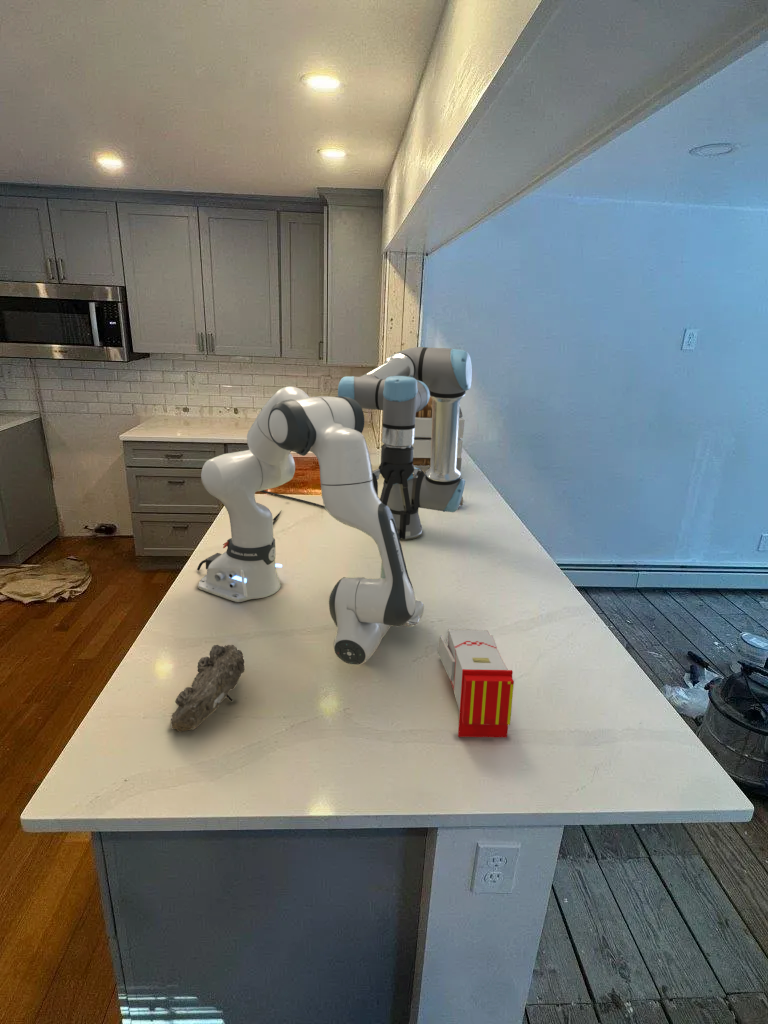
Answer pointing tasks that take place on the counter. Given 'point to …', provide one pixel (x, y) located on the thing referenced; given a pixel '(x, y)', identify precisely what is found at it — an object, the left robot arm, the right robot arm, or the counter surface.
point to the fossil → (208, 687)
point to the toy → (478, 682)
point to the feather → (275, 518)
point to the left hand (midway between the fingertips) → (390, 591)
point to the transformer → (424, 437)
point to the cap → (399, 533)
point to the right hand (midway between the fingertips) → (392, 537)
